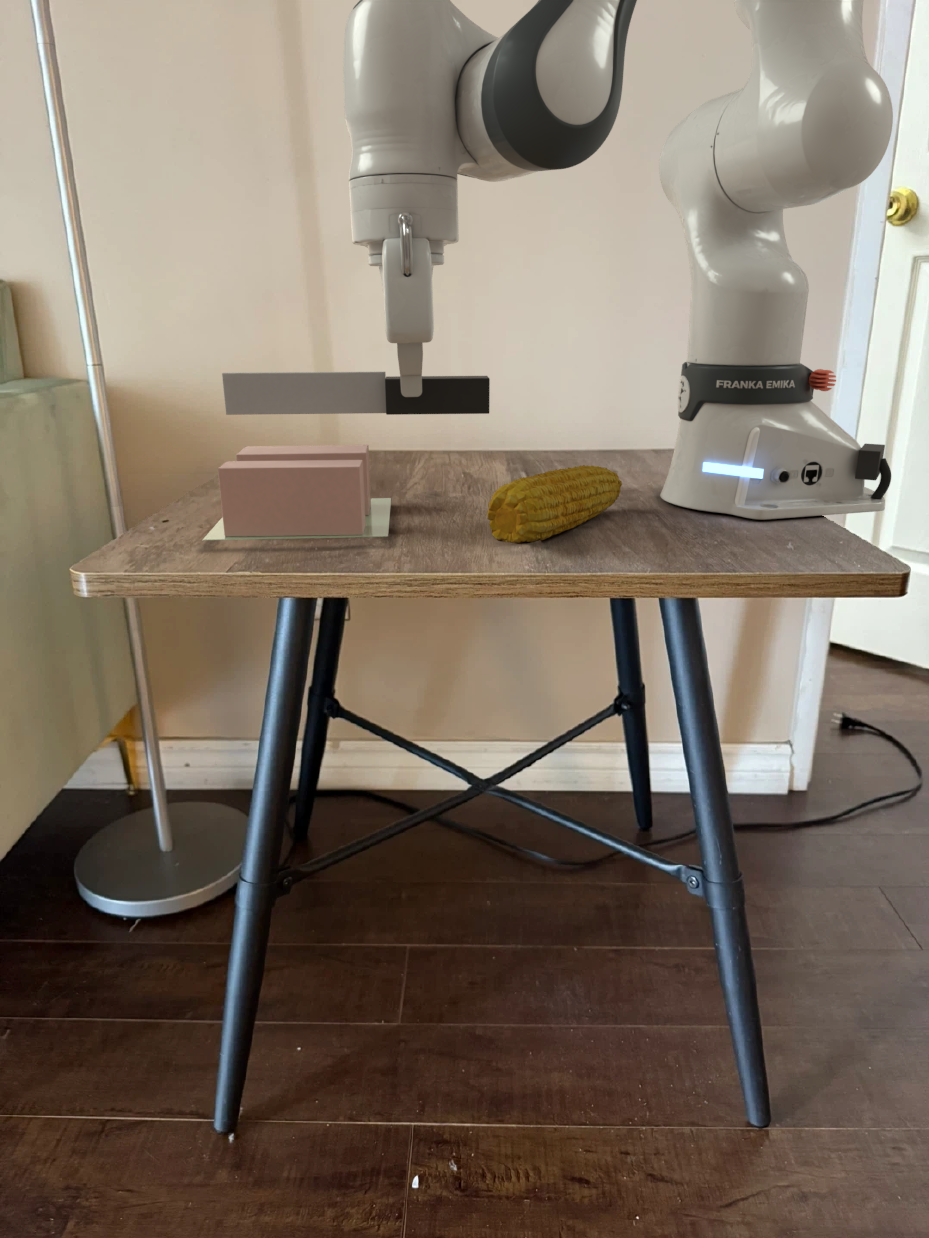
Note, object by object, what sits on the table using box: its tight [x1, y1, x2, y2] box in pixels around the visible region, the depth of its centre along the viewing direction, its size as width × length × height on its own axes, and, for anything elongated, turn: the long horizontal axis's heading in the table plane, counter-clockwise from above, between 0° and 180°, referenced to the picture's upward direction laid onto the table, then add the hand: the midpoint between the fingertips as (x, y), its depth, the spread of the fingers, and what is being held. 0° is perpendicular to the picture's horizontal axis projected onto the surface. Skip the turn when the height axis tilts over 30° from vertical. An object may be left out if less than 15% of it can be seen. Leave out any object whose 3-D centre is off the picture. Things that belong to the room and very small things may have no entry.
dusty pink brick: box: [217, 460, 366, 537], centre depth 75 cm, size 12×4×6 cm, turn 92°
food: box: [486, 464, 623, 544], centre depth 80 cm, size 21×6×6 cm, turn 148°
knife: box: [221, 371, 491, 416], centre depth 75 cm, size 23×3×4 cm, turn 93°
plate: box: [202, 497, 392, 541], centre depth 82 cm, size 16×16×1 cm
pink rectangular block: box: [235, 444, 372, 515], centre depth 83 cm, size 12×5×6 cm, turn 94°
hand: (411, 394), depth 75 cm, fingers closed on knife, 2 cm apart
